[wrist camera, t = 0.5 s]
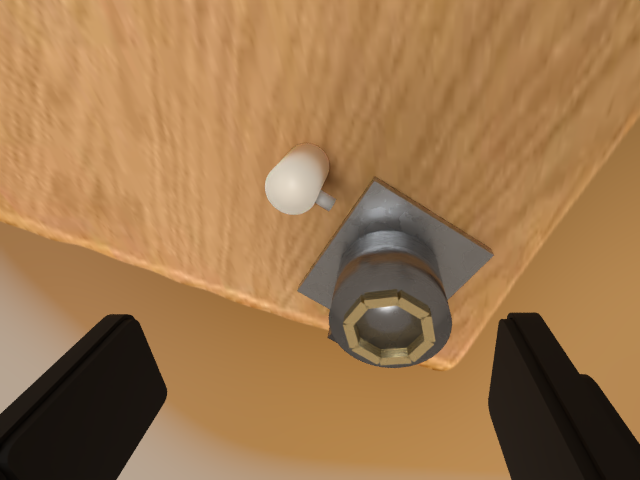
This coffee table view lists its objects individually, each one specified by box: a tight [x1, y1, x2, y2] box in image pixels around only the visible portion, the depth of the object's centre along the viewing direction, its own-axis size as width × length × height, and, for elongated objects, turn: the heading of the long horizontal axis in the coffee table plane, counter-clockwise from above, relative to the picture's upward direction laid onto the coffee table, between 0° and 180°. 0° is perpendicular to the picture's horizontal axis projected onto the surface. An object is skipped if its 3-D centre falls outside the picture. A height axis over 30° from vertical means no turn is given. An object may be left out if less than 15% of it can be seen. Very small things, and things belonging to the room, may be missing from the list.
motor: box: [297, 177, 494, 368], centre depth 39 cm, size 18×16×12 cm
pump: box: [265, 143, 336, 215], centre depth 36 cm, size 5×7×8 cm
